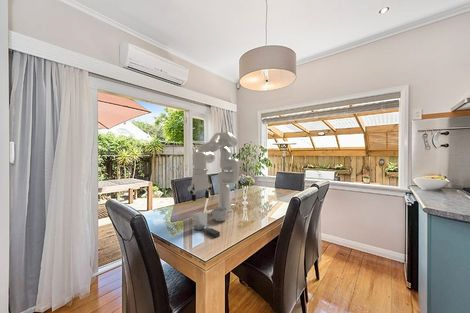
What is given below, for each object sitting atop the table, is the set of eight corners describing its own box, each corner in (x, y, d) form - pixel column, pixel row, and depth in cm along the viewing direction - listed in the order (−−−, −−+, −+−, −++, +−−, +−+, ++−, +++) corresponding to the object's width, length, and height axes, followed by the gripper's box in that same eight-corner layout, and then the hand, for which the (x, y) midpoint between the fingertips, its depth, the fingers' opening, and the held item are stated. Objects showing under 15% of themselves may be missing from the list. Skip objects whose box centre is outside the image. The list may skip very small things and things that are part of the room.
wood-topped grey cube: (201, 222, 132) (201, 211, 132) (207, 224, 127) (207, 213, 127) (193, 224, 128) (193, 213, 128) (199, 227, 123) (198, 215, 123)
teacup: (223, 223, 137) (223, 211, 136) (209, 221, 140) (209, 210, 140) (231, 217, 150) (231, 206, 149) (217, 215, 153) (217, 205, 153)
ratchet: (222, 235, 118) (222, 225, 118) (211, 239, 113) (211, 229, 112) (202, 225, 133) (202, 217, 133) (191, 228, 128) (191, 219, 128)
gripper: (208, 170, 135) (208, 196, 136) (184, 172, 124) (185, 200, 124) (215, 171, 130) (215, 198, 131) (191, 173, 118) (191, 203, 119)
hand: (200, 199), depth 128 cm, fingers open, 9 cm apart
